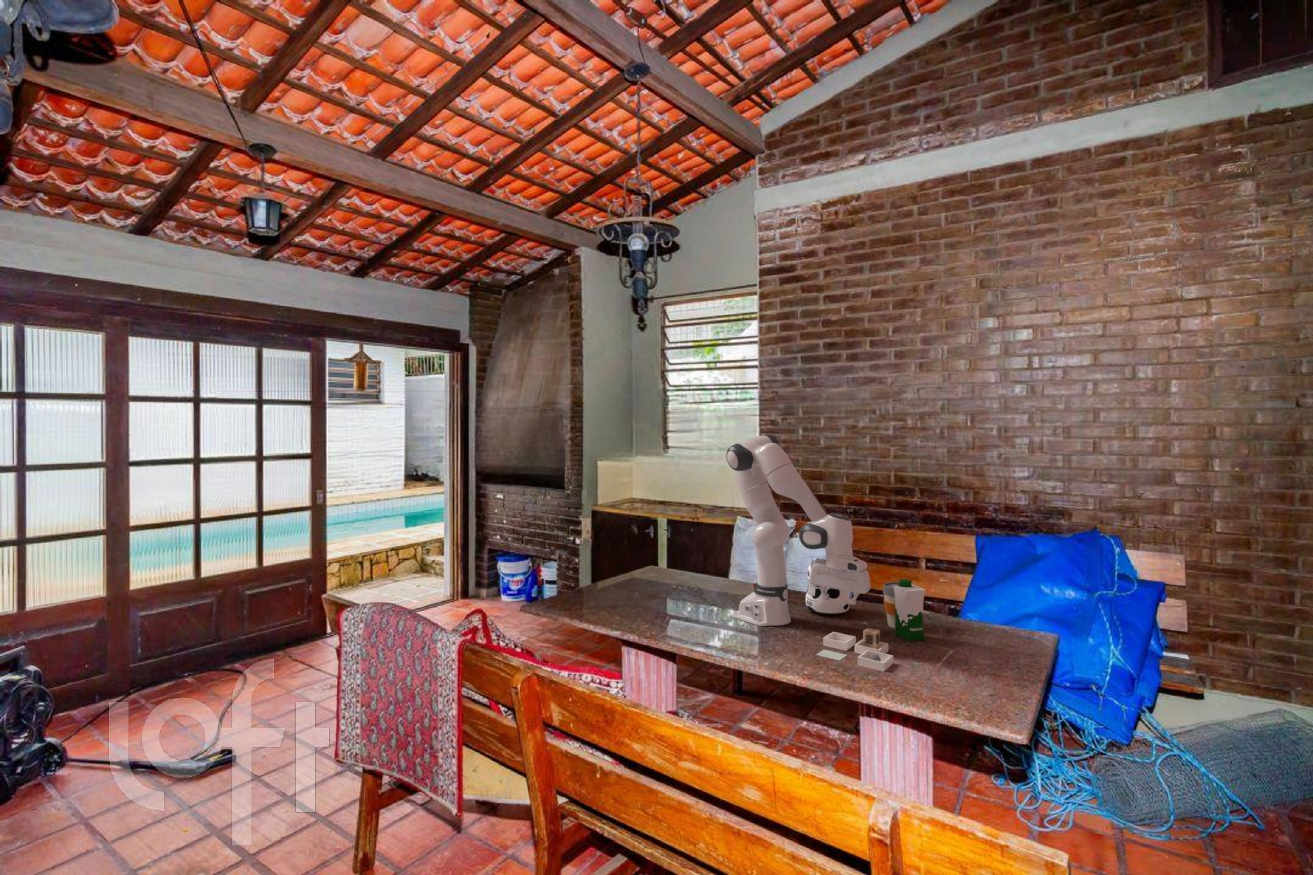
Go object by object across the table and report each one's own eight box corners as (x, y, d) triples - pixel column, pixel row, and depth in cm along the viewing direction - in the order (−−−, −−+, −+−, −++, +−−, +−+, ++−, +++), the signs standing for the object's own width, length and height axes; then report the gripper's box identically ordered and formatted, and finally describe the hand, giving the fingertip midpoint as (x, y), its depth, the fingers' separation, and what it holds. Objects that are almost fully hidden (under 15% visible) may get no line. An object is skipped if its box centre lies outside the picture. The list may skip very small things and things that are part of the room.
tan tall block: (863, 652, 205) (863, 630, 205) (867, 648, 208) (867, 627, 208) (875, 654, 202) (875, 633, 202) (880, 651, 205) (879, 630, 205)
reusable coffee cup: (919, 622, 236) (919, 583, 236) (918, 632, 225) (918, 591, 225) (884, 618, 242) (884, 580, 241) (881, 628, 230) (881, 588, 230)
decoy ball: (868, 664, 194) (868, 654, 194) (872, 661, 196) (872, 652, 196) (878, 666, 192) (878, 657, 192) (882, 663, 194) (882, 654, 194)
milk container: (855, 609, 254) (855, 565, 254) (842, 620, 240) (842, 574, 239) (814, 603, 264) (813, 561, 263) (799, 613, 249) (799, 569, 249)
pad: (816, 656, 202) (816, 654, 202) (823, 651, 207) (823, 649, 207) (839, 662, 197) (839, 660, 197) (847, 656, 202) (847, 654, 202)
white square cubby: (854, 653, 204) (854, 644, 204) (863, 647, 211) (863, 638, 211) (879, 659, 199) (879, 650, 199) (888, 652, 206) (888, 643, 205)
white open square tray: (823, 646, 211) (823, 637, 211) (833, 640, 218) (833, 631, 218) (846, 651, 206) (846, 642, 206) (855, 645, 213) (855, 636, 212)
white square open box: (857, 666, 194) (857, 656, 193) (867, 658, 200) (867, 649, 200) (884, 672, 188) (884, 663, 188) (893, 664, 195) (893, 655, 195)
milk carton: (911, 632, 225) (911, 577, 225) (928, 640, 216) (928, 583, 216) (890, 635, 223) (890, 579, 222) (907, 643, 214) (907, 585, 214)
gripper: (806, 559, 216) (806, 598, 216) (864, 567, 203) (864, 609, 203) (814, 556, 221) (814, 594, 221) (871, 563, 208) (871, 604, 208)
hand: (839, 601), depth 212 cm, fingers open, 8 cm apart
